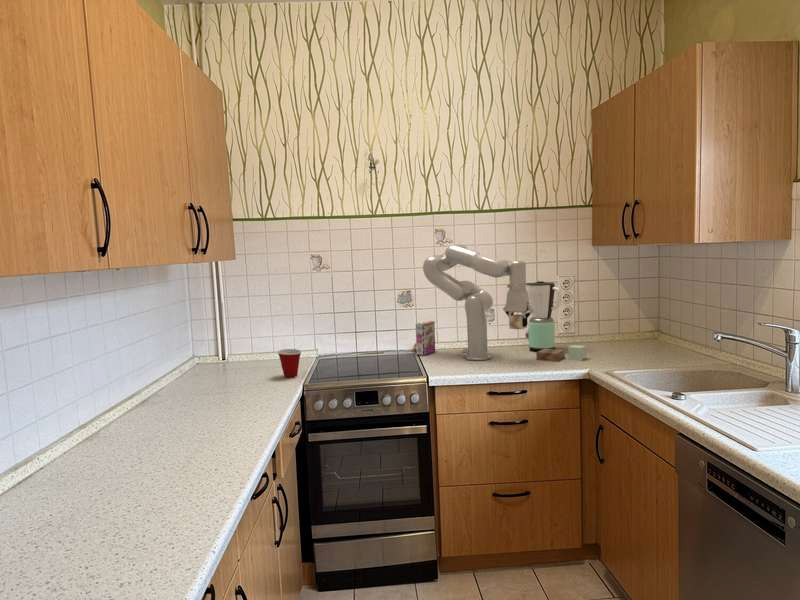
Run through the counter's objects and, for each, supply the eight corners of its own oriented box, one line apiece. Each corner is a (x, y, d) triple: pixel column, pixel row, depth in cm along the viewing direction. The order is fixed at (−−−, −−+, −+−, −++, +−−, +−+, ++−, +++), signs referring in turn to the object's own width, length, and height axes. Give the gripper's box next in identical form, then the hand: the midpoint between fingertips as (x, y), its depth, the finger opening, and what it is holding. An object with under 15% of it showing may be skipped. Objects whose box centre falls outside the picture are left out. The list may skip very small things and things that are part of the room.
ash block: (509, 328, 278) (509, 315, 277) (515, 326, 282) (515, 314, 282) (521, 329, 274) (520, 316, 273) (527, 327, 278) (527, 314, 278)
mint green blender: (520, 350, 304) (519, 282, 300) (532, 346, 314) (531, 280, 310) (555, 354, 292) (554, 283, 288) (567, 349, 302) (566, 280, 298)
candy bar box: (424, 356, 302) (423, 324, 300) (416, 355, 305) (414, 323, 303) (436, 352, 311) (434, 320, 309) (428, 351, 314) (426, 320, 312)
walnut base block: (536, 360, 281) (536, 352, 281) (544, 356, 289) (544, 348, 289) (557, 362, 276) (556, 353, 275) (564, 358, 284) (564, 349, 283)
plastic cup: (297, 379, 263) (295, 352, 262) (275, 379, 266) (273, 352, 264) (307, 373, 273) (305, 348, 272) (285, 373, 276) (283, 348, 275)
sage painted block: (568, 359, 279) (568, 347, 278) (573, 357, 284) (573, 344, 283) (580, 360, 275) (580, 348, 275) (585, 358, 280) (585, 345, 279)
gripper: (497, 287, 279) (498, 325, 281) (531, 288, 268) (531, 328, 270) (505, 286, 284) (505, 323, 286) (538, 287, 273) (538, 326, 275)
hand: (518, 325), depth 278 cm, fingers closed on ash block, 6 cm apart
